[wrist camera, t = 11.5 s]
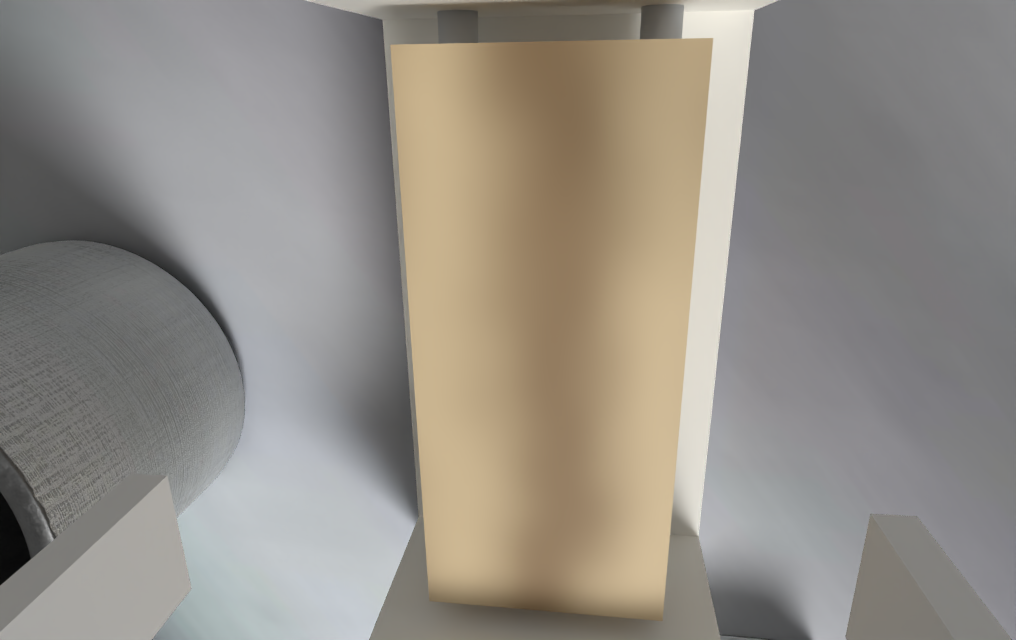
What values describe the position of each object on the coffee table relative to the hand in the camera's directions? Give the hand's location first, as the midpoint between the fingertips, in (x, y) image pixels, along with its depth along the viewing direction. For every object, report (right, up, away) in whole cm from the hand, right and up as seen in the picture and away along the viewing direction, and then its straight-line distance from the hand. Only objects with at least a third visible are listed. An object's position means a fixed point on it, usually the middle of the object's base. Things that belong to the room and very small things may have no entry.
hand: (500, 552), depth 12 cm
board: (+2, +4, +10) cm, 11 cm away
